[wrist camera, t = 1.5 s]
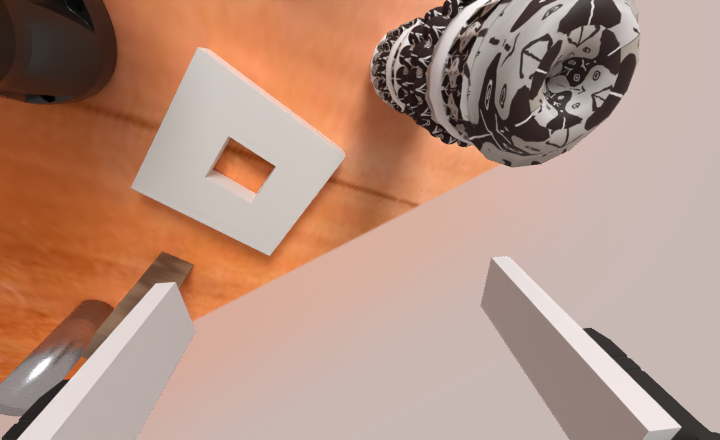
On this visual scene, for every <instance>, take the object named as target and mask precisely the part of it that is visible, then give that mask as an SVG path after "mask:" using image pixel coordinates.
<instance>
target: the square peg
mask: <svg viewBox="0 0 720 440" xmlns="http://www.w3.org/2000/svg"><path fill="white" fill-rule="evenodd" d="M192 267H193V264H190V263H188V262H186V261H183V260H181V259H179V258H176V257H174V256H172V255H169V254H167V253H164V252H162V253H161V254H160V255H159V256H158V258H157V259H156V260H155V261H154V262H153V264H152V265H151V266H150V267H149V268H148V270H147V271H146V272H145V273H144V274H143V276H142V277H141V278H140V279H139V280H138V282H137V283H136V284H135V285H134V286H133V288H132V289H131V290H130V291H129V293H128V294H127V295H126V296H125V297H124V299H123V300H122V301H121V302H120V303H119V305H118V306H117V307H116V308H115V309H114V311H113V312H112V313H111V314H110V315H109V317H108V318H107V319H106V320H105V321H104V323H103V324H102V325H101V326H100V327H99V329H98V330H97V331H96V332H95V334H94V336H93V338H92V340H91V341H90V343H89V345H88V347H87V349H86V351H85V352H84V354H83V356H82V357H83V358H87V359H89V358H90V357H91V356H92V355H93V353H94V352H95V351H96V350H97V349H98V348H99V347H100V346H101V344H102V343H103V342H104V341H105V340H106V339H107V338H108V337H109V335H110V334H111V333H112V332H113V331H114V330H115V329H116V328H117V326H118V325H119V324H120V323H121V322H122V321H123V320H124V319H125V317H126V316H127V315H128V314H129V313H130V312H131V311H132V310H133V308H134V307H135V306H136V305H137V304H138V303H139V302H140V301H141V299H142V298H143V297H144V296H145V295H146V294H147V293H148V292H149V290H150V289H151V288H152V287H153V286H154V285H155V284H156V283H169V282H176V284H177V287H178V289H179V288H180V286H181V285H182V283H183V281H184V280H185V278H186V276H187V275H188V273H189V272H190V270H191V268H192Z"/></svg>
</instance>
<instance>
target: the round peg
mask: <svg viewBox="0 0 720 440" xmlns="http://www.w3.org/2000/svg"><path fill="white" fill-rule="evenodd" d="M113 311H114V309H113V308H112V307H111V306H110V305H109V304H107V303H105V302H102V301H99V300H86V301H83V302H82V303H80V304H79V305H78V306H77V307H76V308H75V309H74V310H73V312H72V313H71V314H70V315H69V316H68V317H67V318H66V319H65V320H64V321H63V322H62V323H61V324H60V325H59V326H58V327H57V328H56V329H55V330H54V331H53V332H52V333H51V334H50V335H49V336H48V337H47V338H46V339H45V340H44V341H43V342H42V343H41V344H40V345H39V346H38V347H37V348H36V349H35V350H34V351H33V352H32V353H31V354H30V355H29V356H28V357H27V358H26V359H25V360H24V361H23V362H22V363H21V364H20V365H19V366H18V367H17V368H16V369H15V370H14V371H13V372H12V373H11V374H10V375H9V376H8V377H7V378H6V379H5V380H4V381H3V382H2V383H1V384H0V414H4V415H10V416H23V415H24V413H25V412H26V411H27V410H28V409H29V408H30V407H31V406H32V405H33V404H34V403H35V402H36V401H37V400H38V399H39V398H40V397H41V396H42V395H44V394H45V393H46V392H48V391H49V390H50V389H51V388H53V387H54V386H55V385H57V384H58V383H59V382H61V381H62V380H63V379H64V377H65V376H66V375H67V374H68V373H69V371H70V370H71V369H72V368H73V366H74V365H75V364H76V363H77V361H78V360H79V359H80V358H81V356H82V355H83V354H84V352H85V351H86V349H87V347H88V345H89V343H90V341H91V340H92V338H93V336H94V334H95V332H96V331H97V330H98V329H99V327H100V326H101V325H102V324H103V323H104V321H105V320H106V319H107V318H108V317H109V315H110V314H111V313H112V312H113Z"/></svg>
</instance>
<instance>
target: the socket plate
mask: <svg viewBox="0 0 720 440" xmlns="http://www.w3.org/2000/svg"><path fill="white" fill-rule="evenodd" d="M231 138H232V139H234V140H235V141H237V142H238V143H240V144H241V145H243V146H245V147H246V148H248V149H249V150H251V151H252V152H254V153H256V154H257V155H259V156H260V157H262V158H263V159H265V160H266V161H268V162H270V163H271V164H273V165H274V166H275V167H274V168H273V169H272V171H271V172H270V174H269V175H268V177H267V178H266V180H265V181H264V183H263V184H262V186H261V187H260V189H259V190H258V192H257V193H254V192H252V191H250V190H249V189H247V188H245V187H243V186H242V185H240V184H238V183H237V182H235V181H233V180H231V179H230V178H228V177H226V176H224V175H223V174H221V173H219V172H217V171H216V170H214V169H213V168H214V166H215V165H216V163H217V161H218V159H219V158H220V156H221V154H222V153H223V151H224V149H225V147H226V146H227V144H228V142H229V141H230V139H231ZM345 157H346V156H345V152H344V150H343V149H342V148H340V147H339V146H338V145H336V144H335V143H334V142H332V141H331V140H330V139H328V138H327V137H326V136H324V135H323V134H322V133H320V132H319V131H318V130H316V129H315V128H314V127H312V126H311V125H310V124H308V123H307V122H306V121H304V120H303V119H302V118H300V117H299V116H298V115H296V114H295V113H294V112H292V111H291V110H290V109H288V108H287V107H286V106H284V105H283V104H282V103H280V102H279V101H278V100H276V99H275V98H274V97H272V96H271V95H270V94H268V93H267V92H266V91H264V90H263V89H262V88H260V87H259V86H258V85H256V84H255V83H254V82H252V81H251V80H250V79H248V78H247V77H246V76H244V75H243V74H242V73H240V72H239V71H238V70H236V69H235V68H234V67H232V66H231V65H230V64H228V63H227V62H226V61H224V60H223V59H222V58H220V57H219V56H218V55H216V54H215V53H214V52H212V51H211V50H210V49H207V48H200V47H198V48H197V50H196V52H195V54H194V56H193V58H192V61H191V63H190V65H189V67H188V69H187V71H186V73H185V75H184V77H183V79H182V81H181V84H180V86H179V88H178V90H177V92H176V94H175V96H174V98H173V100H172V102H171V105H170V107H169V109H168V111H167V113H166V115H165V117H164V119H163V121H162V123H161V126H160V128H159V130H158V132H157V134H156V136H155V138H154V140H153V142H152V144H151V147H150V149H149V151H148V153H147V155H146V157H145V159H144V161H143V163H142V165H141V168H140V170H139V172H138V174H137V176H136V178H135V180H134V182H133V184H132V186H131V188H132V189H134V190H136V191H138V192H140V193H142V194H144V195H146V196H148V197H150V198H152V199H154V200H156V201H158V202H160V203H162V204H164V205H166V206H169V207H171V208H173V209H175V210H177V211H179V212H181V213H183V214H185V215H187V216H189V217H191V218H193V219H195V220H197V221H199V222H201V223H203V224H205V225H207V226H209V227H211V228H213V229H216V230H218V231H220V232H222V233H224V234H226V235H228V236H230V237H232V238H234V239H236V240H238V241H240V242H242V243H244V244H246V245H248V246H250V247H252V248H254V249H256V250H258V251H260V252H263V253H265V254H267V255H269V256H270V255H271V254H272V252H273V251H274V250H275V248H276V247H277V246H278V244H279V243H280V242H281V241H282V239H283V238H284V237H285V235H286V234H287V233H288V231H289V230H290V229H291V228H292V226H293V225H294V224H295V222H296V221H297V220H298V218H299V217H300V216H301V214H302V213H303V212H304V211H305V209H306V208H307V207H308V205H309V204H310V203H311V201H312V200H313V199H314V197H315V196H316V195H317V194H318V192H319V191H320V190H321V188H322V187H323V186H324V184H325V183H326V182H327V180H328V179H329V178H330V177H331V175H332V174H333V173H334V171H335V170H336V169H337V167H338V166H339V165H340V163H341V162H342V161H343V160H344V158H345Z"/></svg>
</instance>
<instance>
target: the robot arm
mask: <svg viewBox="0 0 720 440" xmlns="http://www.w3.org/2000/svg"><path fill="white" fill-rule="evenodd" d="M115 63H116V39H115V34H114V29H113V25H112V22H111V19H110V16H109V14H108V11H107V9H106V7H105V5H104V3H103V1H102V0H0V97H2V98H7V99H12V100H17V101H21V102H26V103H33V104H47V105H52V104H63V103H69V102H76V101H80V100H84V99H87V98H89V97H91V96H93V95H95V94H96V93H98V92H99V91H100V90H101V89H102V88H103V87H104V86H105V85H106V84H107V83H108V81H109V79H110V78H111V76H112V73H113V70H114V67H115ZM481 307H482V308H483V310H484V311H485V313H486V314H487V316H488V317H489V319H490V320H491V322H492V323H493V325H494V326H495V328H496V329H497V331H498V332H499V334H500V335H501V337H502V338H503V340H504V341H505V343H506V344H507V346H508V348H509V349H510V351H511V352H512V353H513V355H514V357H515V358H516V359H517V361H518V363H519V364H520V365H521V367H522V369H523V370H524V372H525V373H526V375H527V376H528V378H529V379H530V381H531V382H532V384H533V385H534V387H535V388H536V390H537V391H538V393H539V394H540V396H541V397H542V399H543V400H544V402H545V403H546V405H547V406H548V408H549V409H550V411H551V412H552V414H553V415H554V417H555V418H556V420H557V421H558V423H559V424H560V426H561V427H562V429H563V430H564V432H565V433H566V435H567V437H568V438H569V439H570V440H720V434H719V433H716V432H715V433H714V432H711V431H709V430H708V429H707V428H705V427H704V426H703V425H702V424H701V423H700V422H698V421H697V420H696V419H695V418H694V417H693V416H692V415H691V414H690V413H689V412H688V411H687V410H686V409H684V408H683V407H682V406H681V405H680V404H679V403H678V402H677V401H676V400H675V399H673V397H672V396H670V395H669V394H668V393H667V392H666V391H665V390H664V389H663V388H662V387H661V386H660V385H659V384H657V383H656V382H655V381H654V380H653V379H652V378H651V377H650V376H649V375H648V374H647V373H646V372H644V371H641V368H640V367H639V366H638V365H637V364H636V363H635V362H634V361H633V360H632V359H630V358H628V357H627V355H626V354H625V353H624V352H623V351H622V350H621V349H620V348H619V347H617V346H616V345H615V344H614V343H613V342H612V341H611V340H610V339H608V338H606V337H605V336H603V335H602V334H600V333H598V332H597V331H595V330H594V329H592V328H585V329H582V328H581V327H580V326H579V325H577V324H576V323H575V322H574V320H573V319H571V317H570V316H569V315H568V314H566V313H565V312H564V311H563V310H562V309H561V308H560V307H559V306H558V305H557V304H556V303H555V302H554V301H553V300H552V299H551V298H550V297H549V296H548V295H547V294H546V293H545V292H544V291H543V290H542V289H541V288H540V287H539V286H538V285H537V284H536V283H535V282H534V281H533V280H532V279H531V278H530V277H529V276H528V275H527V274H526V273H525V272H524V271H523V270H522V269H521V268H520V267H519V266H518V265H517V264H516V263H515V262H514V261H513V260H512V259H511V258H510V257H509V256H504V257H492V258H491V261H490V266H489V271H488V275H487V280H486V284H485V289H484V293H483V298H482V302H481ZM195 332H196V330H195V327H194V325H193V322H192V320H191V318H190V315H189V313H188V311H187V308H186V306H185V303H184V301H183V299H182V296H181V294H180V291H179V289H178V287H177V284H176V282H169V283H156V284H155V285H154V286H153V287H152V288H151V289H150V290H149V292H148V293H147V294H146V295H145V296H144V297H143V298H142V299H141V301H140V302H139V303H138V304H137V305H136V306H135V307H134V308H133V310H132V311H131V312H130V313H129V314H128V315H127V316H126V317H125V319H124V320H123V321H122V322H121V323H120V324H119V325H118V326H117V328H116V329H115V330H114V331H113V332H112V333H111V334H110V335H109V337H108V338H107V339H106V340H105V341H104V342H103V343H102V344H101V346H100V347H99V348H98V349H97V350H96V351H95V352H94V353H93V355H92V356H91V357H90V358H89V359H88V360H87V361H86V362H85V364H84V365H83V366H82V367H81V368H80V369H79V370H78V371H77V373H76V374H75V375H74V376H73V377H72V378H71V379H67V380H62V381H61V382H59V383H58V384H57V385H55V386H54V387H53V388H51V389H50V390H49V391H48V392H46V393H45V394H44V395H42V396H41V397H40V398H39V399H38V400H37V401H36V402H35V403H34V404H33V405H32V406H31V407H30V408H29V409H28V410H27V411H26V412H25V413H24V415H23V416H22V417H21V418H20V419H19V422H18V423H17V424H14V425H13V426H12V427H11V428H10V429H9V431H8V432H7V433H6V434H5V435H4V436H3V437H2V440H136V438H137V436H138V435H139V433H140V431H141V429H142V427H143V425H144V424H145V422H146V420H147V418H148V417H149V415H150V413H151V411H152V409H153V407H154V406H155V404H156V402H157V400H158V399H159V397H160V395H161V393H162V391H163V390H164V388H165V386H166V384H167V382H168V381H169V379H170V377H171V375H172V373H173V372H174V370H175V368H176V366H177V364H178V362H179V360H180V359H181V357H182V355H183V353H184V352H185V350H186V348H187V346H188V345H189V343H190V341H191V339H192V337H193V336H194V334H195Z"/></svg>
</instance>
